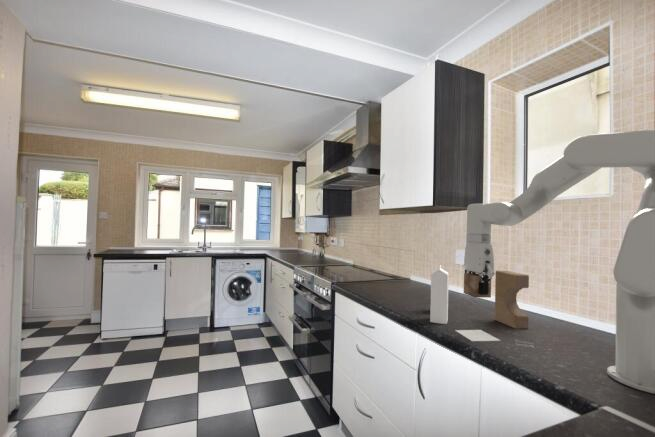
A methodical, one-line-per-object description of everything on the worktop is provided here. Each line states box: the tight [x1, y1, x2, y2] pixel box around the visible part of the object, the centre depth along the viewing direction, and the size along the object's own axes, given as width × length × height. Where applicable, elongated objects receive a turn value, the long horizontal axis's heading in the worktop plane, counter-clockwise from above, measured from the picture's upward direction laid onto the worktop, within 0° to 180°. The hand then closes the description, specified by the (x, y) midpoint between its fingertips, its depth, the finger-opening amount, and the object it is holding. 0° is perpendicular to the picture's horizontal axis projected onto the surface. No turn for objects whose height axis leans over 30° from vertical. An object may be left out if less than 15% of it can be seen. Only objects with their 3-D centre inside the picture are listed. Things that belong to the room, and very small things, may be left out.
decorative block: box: [494, 270, 530, 330], centre depth 116 cm, size 11×6×20 cm, turn 10°
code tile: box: [514, 339, 535, 349], centre depth 95 cm, size 10×10×1 cm
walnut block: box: [463, 272, 492, 298], centre depth 102 cm, size 6×6×7 cm
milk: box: [429, 264, 450, 325], centre depth 117 cm, size 6×6×22 cm
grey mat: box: [454, 329, 501, 342], centre depth 101 cm, size 10×10×1 cm
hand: (476, 291), depth 102 cm, fingers closed on walnut block, 6 cm apart
